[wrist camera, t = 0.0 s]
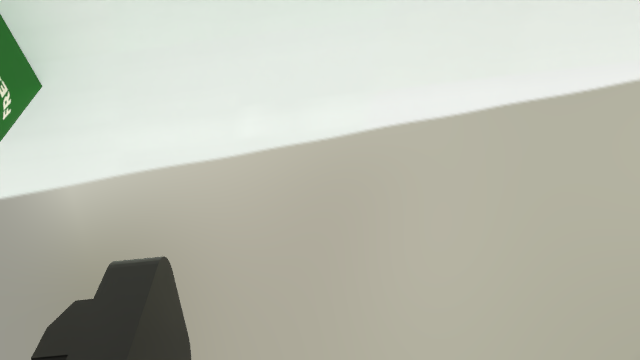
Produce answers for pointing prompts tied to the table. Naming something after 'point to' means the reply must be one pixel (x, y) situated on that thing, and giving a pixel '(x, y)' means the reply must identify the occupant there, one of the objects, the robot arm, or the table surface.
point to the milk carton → (14, 80)
